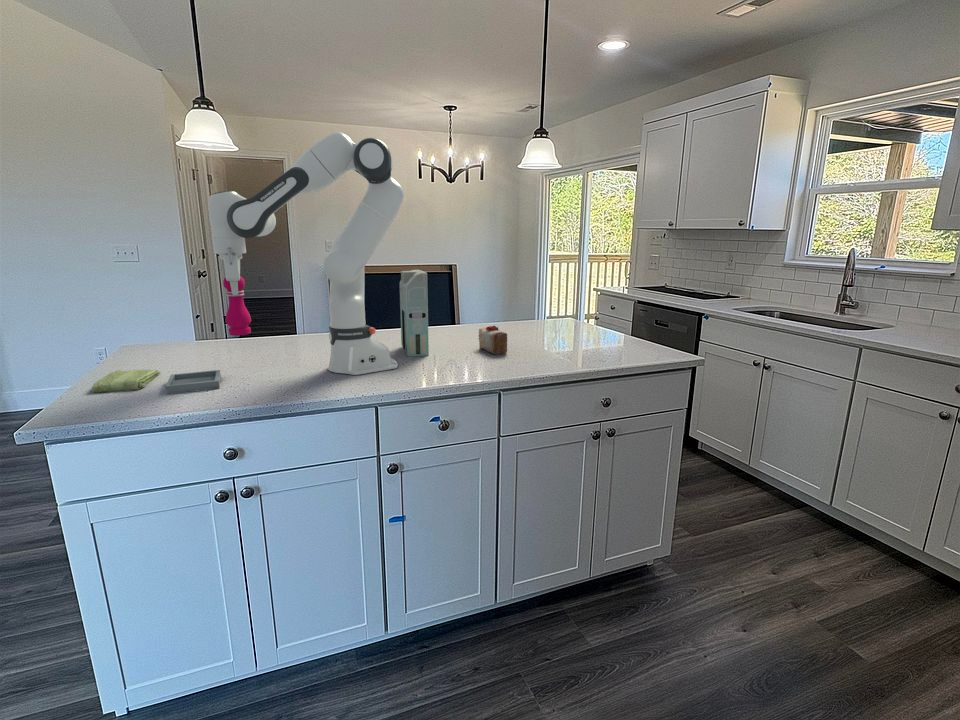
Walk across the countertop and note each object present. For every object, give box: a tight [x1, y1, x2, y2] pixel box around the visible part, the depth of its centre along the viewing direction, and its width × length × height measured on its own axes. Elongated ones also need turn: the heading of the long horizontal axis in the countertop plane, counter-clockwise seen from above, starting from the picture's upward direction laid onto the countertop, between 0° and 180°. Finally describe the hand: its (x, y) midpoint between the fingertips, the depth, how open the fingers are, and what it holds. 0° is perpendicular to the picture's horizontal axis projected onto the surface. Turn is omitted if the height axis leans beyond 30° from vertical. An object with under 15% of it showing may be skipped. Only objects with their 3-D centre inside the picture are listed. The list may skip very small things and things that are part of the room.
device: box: [399, 269, 430, 357], centre depth 184 cm, size 16×8×30 cm, turn 17°
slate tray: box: [165, 369, 222, 395], centre depth 144 cm, size 13×13×2 cm
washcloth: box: [91, 368, 161, 393], centre depth 146 cm, size 13×18×3 cm
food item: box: [478, 325, 508, 356], centre depth 189 cm, size 14×8×10 cm, turn 27°
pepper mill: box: [223, 275, 252, 337], centre depth 154 cm, size 7×7×20 cm
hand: (235, 293), depth 153 cm, fingers closed on pepper mill, 5 cm apart
